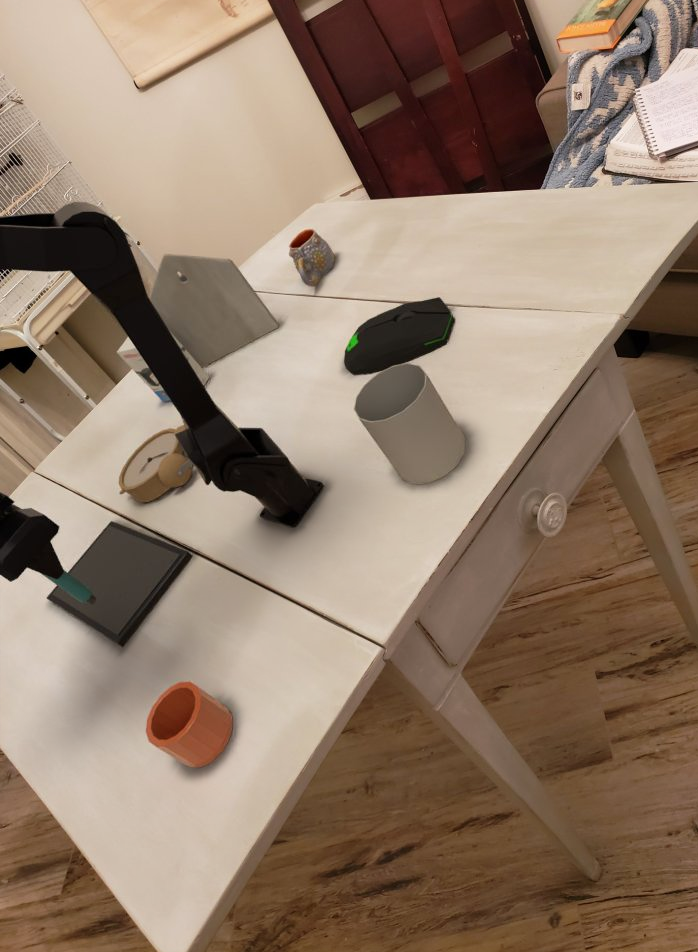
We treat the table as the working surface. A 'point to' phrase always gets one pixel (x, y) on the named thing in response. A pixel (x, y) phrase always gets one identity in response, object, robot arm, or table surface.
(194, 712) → the pen pot
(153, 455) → the alarm clock
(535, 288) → the table surface
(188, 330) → the grey house-shaped block
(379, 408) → the cup
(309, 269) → the mug
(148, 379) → the ink box
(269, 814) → the table surface
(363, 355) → the computer mouse
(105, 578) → the tablet
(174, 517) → the table surface
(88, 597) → the stylus
